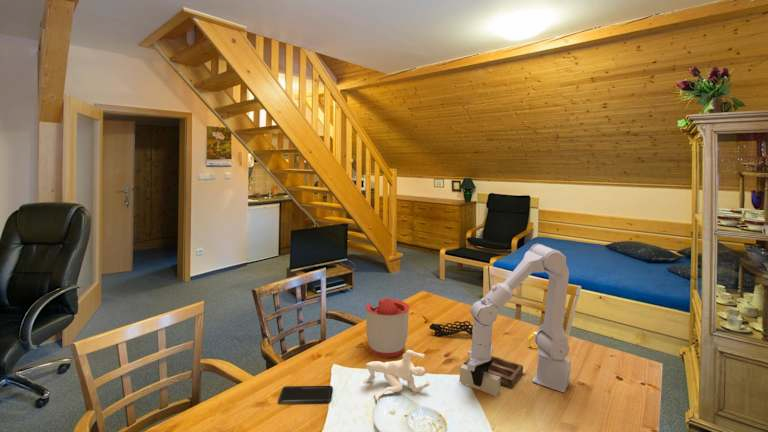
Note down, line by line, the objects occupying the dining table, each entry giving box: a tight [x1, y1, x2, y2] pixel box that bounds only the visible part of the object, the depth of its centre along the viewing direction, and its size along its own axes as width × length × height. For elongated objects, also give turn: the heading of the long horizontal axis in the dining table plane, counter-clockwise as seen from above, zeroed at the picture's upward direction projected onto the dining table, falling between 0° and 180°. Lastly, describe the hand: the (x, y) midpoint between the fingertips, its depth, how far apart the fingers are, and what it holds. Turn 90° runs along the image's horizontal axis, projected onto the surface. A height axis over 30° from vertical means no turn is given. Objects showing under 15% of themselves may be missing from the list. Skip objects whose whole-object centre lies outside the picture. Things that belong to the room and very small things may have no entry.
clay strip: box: [459, 363, 501, 397], centre depth 121 cm, size 12×2×5 cm, turn 53°
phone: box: [277, 385, 334, 405], centre depth 115 cm, size 8×1×15 cm
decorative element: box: [428, 320, 473, 338], centre depth 156 cm, size 22×5×6 cm, turn 85°
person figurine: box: [362, 349, 431, 402], centre depth 120 cm, size 13×13×18 cm
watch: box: [527, 331, 538, 350], centre depth 147 cm, size 6×3×6 cm, turn 88°
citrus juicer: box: [365, 297, 410, 359], centre depth 143 cm, size 16×17×20 cm
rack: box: [463, 354, 524, 389], centre depth 130 cm, size 16×11×3 cm
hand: (479, 382), depth 121 cm, fingers closed on clay strip, 2 cm apart
